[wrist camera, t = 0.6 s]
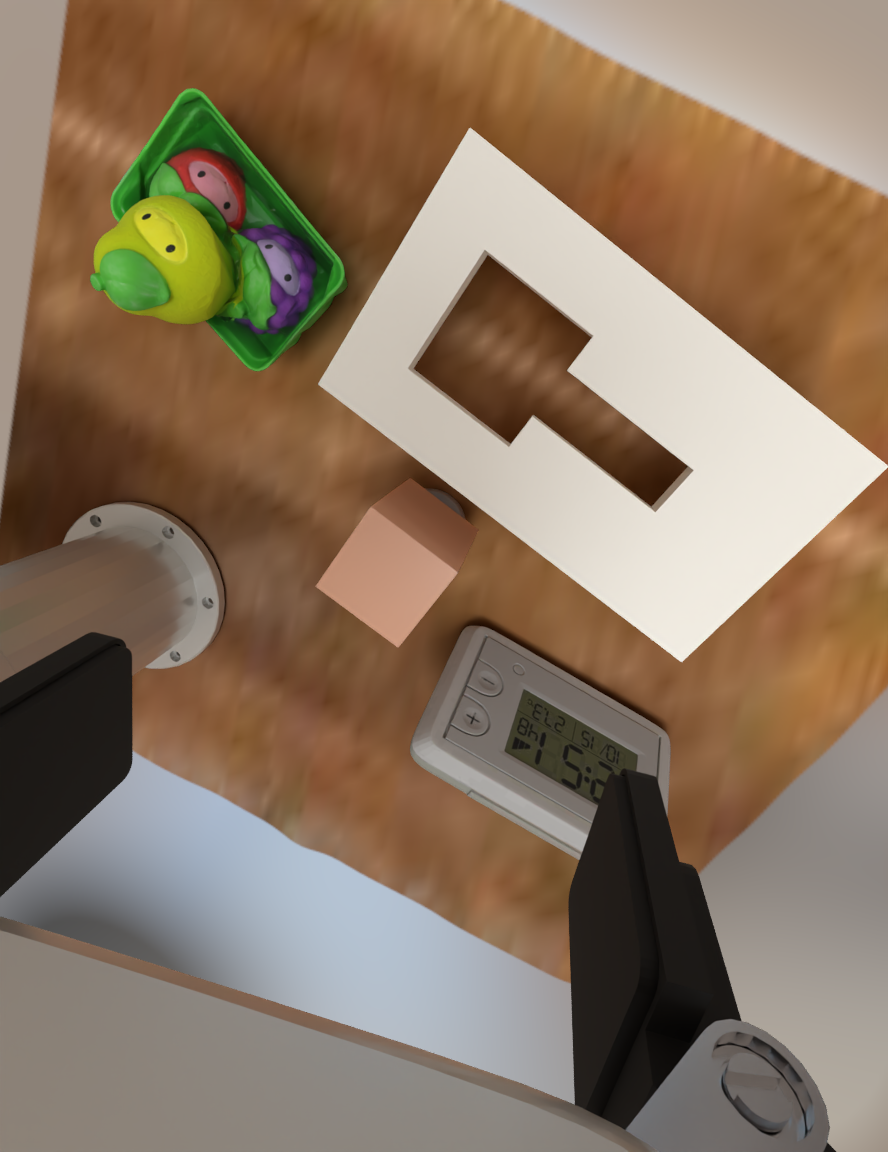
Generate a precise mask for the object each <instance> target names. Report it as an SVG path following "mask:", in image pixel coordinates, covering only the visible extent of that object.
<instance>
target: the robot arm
mask: <svg viewBox="0 0 888 1152" xmlns="http://www.w3.org/2000/svg"><path fill="white" fill-rule="evenodd" d="M224 607H225V598H224V587H223V584H222V580H221V576H220V572H219V570H218V568H217V566H216V563H215V561H214V559H213V557H212V555H211V554H210V552H209V551H208V549H207V548H206V546H205V545H204V543H203V542H202V541H201V539H200V538H199V537H198V536H197V535H196V534H195V533H194V532H193V531H192V530H191V529H190V528H189V527H188V526H187V525H185V524H184V523H183V522H182V521H180V520H179V519H178V518H176V517H175V516H173V515H171V514H169V513H167V512H166V511H164V510H162V509H159V508H156V507H153V506H151V505H148V504H143V503H136V502H116V503H112V504H108V505H104V506H100V507H98V508H95V509H93V510H90V511H88V512H87V513H85V514H84V515H83V516H82V517H80V518H79V519H78V520H76V521H75V523H74V524H73V525H72V527H71V528H70V529H69V530H68V532H67V534H66V536H65V538H64V540H63V543H62V545H59V546H56V547H53V548H50V549H47V550H44V551H41V552H39V553H36V554H33V555H30V556H27V557H24V558H21V559H18V560H16V561H13V562H10V563H7V564H4V565H1V566H0V897H1V896H2V895H3V894H4V893H5V892H6V891H7V890H8V889H9V888H10V887H11V886H12V885H13V884H15V882H17V881H18V880H19V879H20V878H21V877H22V876H23V875H24V874H25V873H26V872H27V871H28V870H29V869H30V868H31V867H32V866H33V865H35V864H36V863H37V862H38V861H39V860H40V859H41V858H42V857H43V856H44V855H45V854H46V853H47V852H48V851H49V850H50V849H51V848H52V847H53V846H55V845H56V844H57V843H58V842H59V841H60V840H61V839H62V838H63V837H64V836H65V835H66V834H67V833H68V832H69V831H70V830H71V829H72V828H73V827H74V826H76V824H78V823H79V822H80V821H81V820H82V819H83V818H84V817H85V816H86V815H87V814H88V813H89V812H90V811H91V810H92V809H93V808H94V807H96V806H97V805H98V804H99V803H100V802H101V801H102V800H103V799H104V798H105V797H106V796H107V795H108V794H109V793H110V792H111V791H112V790H113V789H115V788H116V787H117V786H118V785H119V784H120V783H121V782H122V781H123V780H124V779H125V777H126V776H127V774H128V773H129V771H130V768H131V765H132V676H133V675H135V674H136V673H137V672H139V671H140V670H142V669H143V668H150V669H166V668H171V667H176V666H180V665H182V664H184V663H186V662H189V661H191V660H192V659H193V658H195V657H196V656H198V655H199V654H200V653H202V652H203V651H204V650H205V649H206V648H207V647H208V646H209V645H210V644H211V643H212V641H213V640H214V638H215V637H216V635H217V633H218V632H219V629H220V626H221V623H222V620H223V615H224ZM569 936H570V967H571V996H572V997H571V998H572V1029H573V1059H574V1089H575V1105H574V1104H572V1103H569V1102H567V1101H564V1100H562V1099H559V1098H557V1097H554V1096H552V1095H549V1094H547V1093H544V1092H542V1091H539V1090H537V1089H534V1088H531V1087H529V1086H527V1085H524V1084H522V1083H519V1082H516V1081H512V1080H510V1079H507V1078H504V1077H501V1076H498V1075H495V1074H492V1073H489V1072H486V1071H484V1070H480V1069H478V1068H474V1067H472V1066H469V1065H466V1064H463V1063H460V1062H457V1061H454V1060H451V1059H448V1058H445V1057H443V1056H440V1055H437V1054H434V1053H430V1052H427V1051H425V1050H422V1049H419V1048H416V1047H413V1046H410V1045H406V1044H403V1043H401V1042H397V1041H394V1040H391V1039H388V1038H385V1037H382V1036H379V1035H375V1034H373V1033H369V1032H366V1031H363V1030H360V1029H356V1028H354V1027H351V1026H348V1025H344V1024H341V1023H338V1022H335V1021H332V1020H329V1019H326V1018H322V1017H319V1016H316V1015H313V1014H310V1013H307V1012H304V1011H301V1010H297V1009H294V1008H291V1007H288V1006H285V1005H282V1004H279V1003H276V1002H273V1001H270V1000H266V999H263V998H260V997H257V996H254V995H251V994H247V993H244V992H241V991H238V990H235V989H232V988H229V987H225V986H222V985H219V984H216V983H213V982H209V981H206V980H203V979H200V978H196V977H193V976H190V975H187V974H184V973H181V972H178V971H175V970H171V969H168V968H165V967H162V966H159V965H155V964H152V963H149V962H146V961H143V960H139V959H136V958H133V957H129V956H126V955H123V954H120V953H117V952H114V951H110V950H107V949H104V948H101V947H97V946H94V945H91V944H88V943H85V942H82V941H78V940H75V939H72V938H69V937H66V936H62V935H59V934H56V933H53V932H49V931H46V930H42V929H39V928H36V927H33V926H30V925H26V924H23V923H20V922H17V921H13V920H10V919H7V918H4V917H0V1152H836V1151H835V1150H834V1149H833V1148H832V1147H831V1146H830V1145H829V1144H828V1143H827V1140H828V1135H829V1129H830V1126H829V1120H828V1115H827V1109H826V1105H825V1103H824V1101H823V1099H822V1097H821V1094H820V1092H819V1090H818V1087H817V1085H816V1084H815V1082H814V1081H813V1079H812V1078H811V1076H810V1075H809V1073H808V1072H807V1070H806V1069H805V1068H804V1066H803V1065H802V1063H800V1061H799V1060H798V1059H797V1058H796V1057H795V1056H794V1055H793V1054H792V1053H791V1052H790V1051H789V1050H788V1049H787V1048H786V1046H784V1045H783V1044H782V1043H780V1042H779V1041H778V1040H776V1039H775V1038H774V1037H772V1036H771V1035H770V1034H768V1033H767V1032H766V1031H764V1030H761V1029H759V1028H758V1027H755V1026H753V1025H751V1024H749V1023H747V1022H742V1021H741V1018H740V1014H739V1012H738V1008H737V1004H736V1001H735V998H734V994H733V991H732V987H731V984H730V981H729V977H728V974H727V970H726V967H725V963H724V960H723V957H722V953H721V950H720V947H719V943H718V940H717V937H716V933H715V929H714V926H713V923H712V919H711V916H710V913H709V909H708V906H707V902H706V899H705V896H704V892H703V889H702V885H701V882H700V878H699V876H698V873H697V871H696V869H695V868H694V867H693V866H692V865H690V864H686V863H682V862H679V860H678V856H677V852H676V849H675V845H674V841H673V837H672V833H671V829H670V826H669V822H668V818H667V814H666V810H665V807H664V803H663V799H662V795H661V791H660V787H659V784H658V780H657V778H656V777H655V776H653V775H649V774H645V773H642V772H638V771H634V770H630V769H626V768H624V769H622V770H621V772H620V774H619V775H616V774H612V773H611V774H609V776H608V778H607V781H606V784H605V787H604V790H603V793H602V796H601V798H600V801H599V804H598V807H597V810H596V813H595V816H594V819H593V822H592V825H591V828H590V831H589V834H588V837H587V840H586V843H585V846H584V848H583V851H582V854H581V857H580V860H579V863H578V866H577V869H576V872H575V875H574V878H573V881H572V884H571V888H570V894H569Z"/></svg>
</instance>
